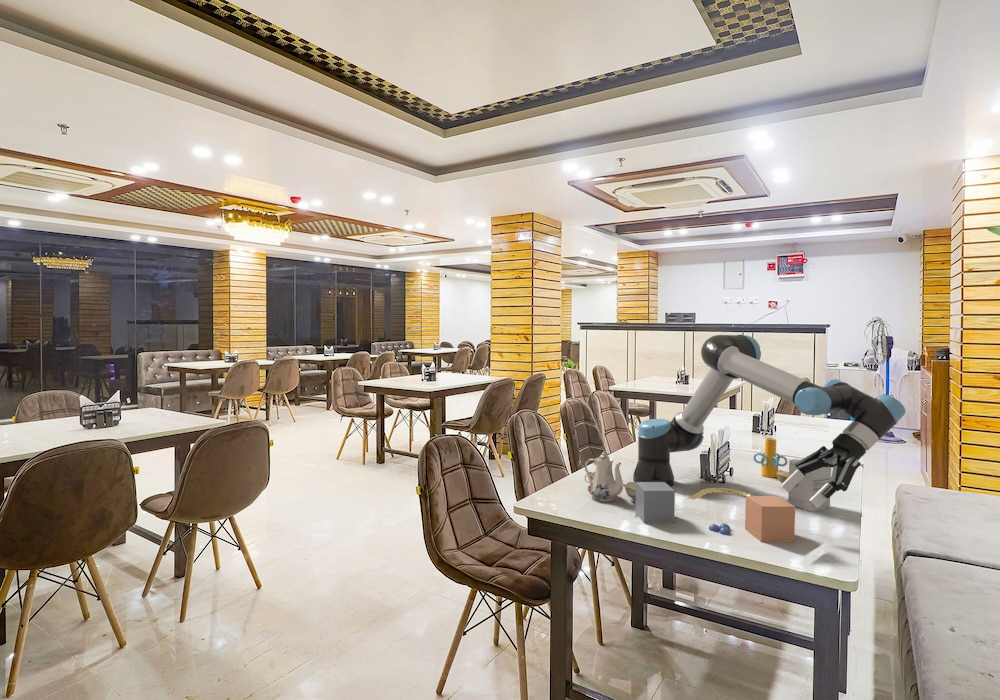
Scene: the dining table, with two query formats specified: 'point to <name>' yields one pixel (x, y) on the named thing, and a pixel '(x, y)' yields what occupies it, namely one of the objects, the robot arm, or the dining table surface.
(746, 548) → the dining table surface
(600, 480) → the chinaware
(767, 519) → the orange rectangular block
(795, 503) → the supplement box
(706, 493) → the gold curved band
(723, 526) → the marble
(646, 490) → the gray block
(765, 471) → the cylinder
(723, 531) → the marble
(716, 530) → the marble
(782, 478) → the pottery oil lamp
